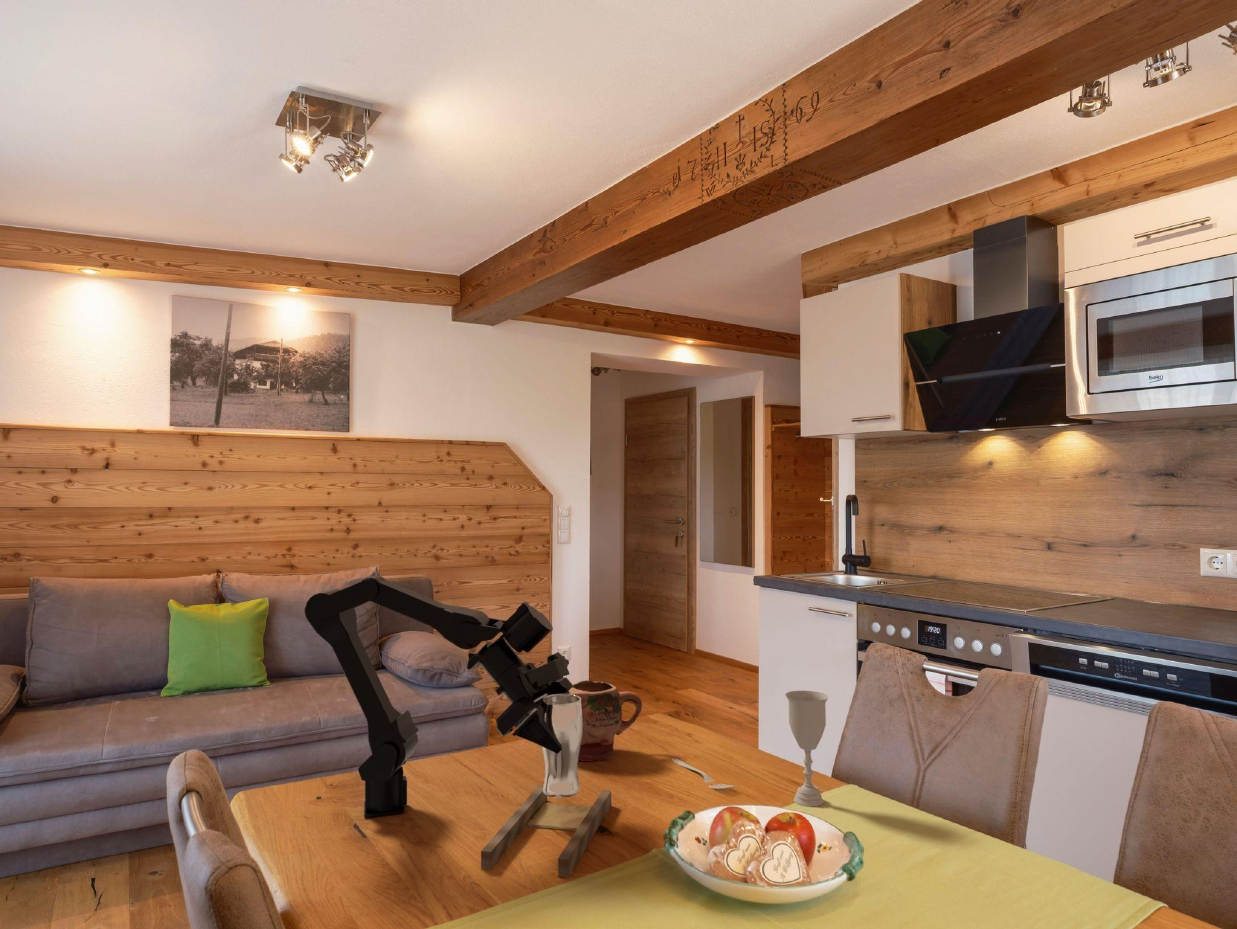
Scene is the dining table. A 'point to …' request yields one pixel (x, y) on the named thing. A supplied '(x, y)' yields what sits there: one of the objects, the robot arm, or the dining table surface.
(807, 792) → the chalice
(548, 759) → the beer glass
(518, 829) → the channel
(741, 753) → the dining table surface
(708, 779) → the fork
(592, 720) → the sculpted ceramic mug
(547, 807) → the tan square coaster
